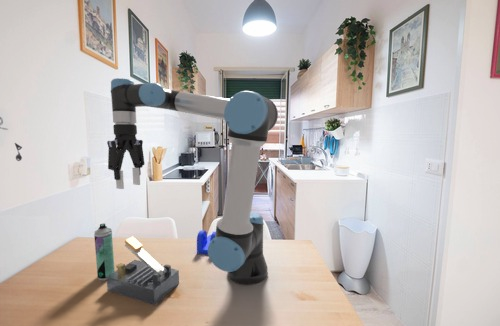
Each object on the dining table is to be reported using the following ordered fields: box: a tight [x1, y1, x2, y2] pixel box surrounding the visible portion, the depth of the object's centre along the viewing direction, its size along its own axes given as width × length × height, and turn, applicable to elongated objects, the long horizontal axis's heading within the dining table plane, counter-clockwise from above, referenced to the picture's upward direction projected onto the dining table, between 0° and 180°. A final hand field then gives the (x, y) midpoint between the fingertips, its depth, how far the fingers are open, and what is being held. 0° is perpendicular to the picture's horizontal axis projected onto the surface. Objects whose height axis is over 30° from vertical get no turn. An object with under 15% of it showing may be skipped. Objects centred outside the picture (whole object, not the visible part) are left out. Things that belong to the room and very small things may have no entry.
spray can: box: [93, 223, 116, 281], centre depth 90 cm, size 6×6×20 cm
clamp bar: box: [124, 236, 167, 277], centre depth 83 cm, size 17×3×3 cm, turn 70°
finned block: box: [106, 259, 180, 306], centre depth 85 cm, size 20×12×9 cm, turn 69°
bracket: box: [196, 230, 216, 255], centre depth 117 cm, size 18×8×9 cm, turn 169°
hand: (128, 186), depth 92 cm, fingers open, 7 cm apart
